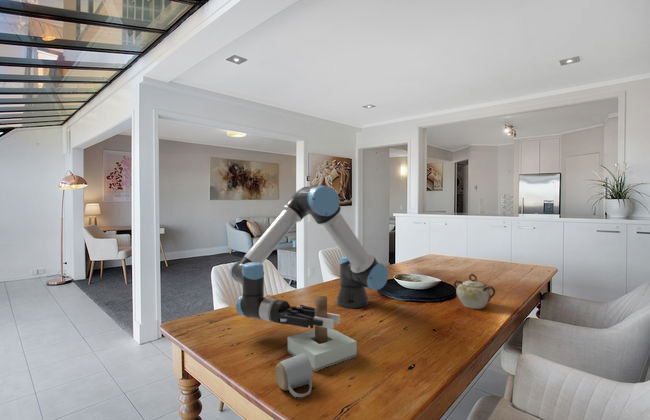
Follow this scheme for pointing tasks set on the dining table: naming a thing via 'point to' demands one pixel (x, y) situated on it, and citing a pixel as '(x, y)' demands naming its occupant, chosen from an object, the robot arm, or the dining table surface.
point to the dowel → (322, 312)
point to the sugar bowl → (473, 293)
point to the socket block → (323, 348)
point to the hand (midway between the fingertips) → (336, 321)
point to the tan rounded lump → (270, 297)
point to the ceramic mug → (294, 374)
